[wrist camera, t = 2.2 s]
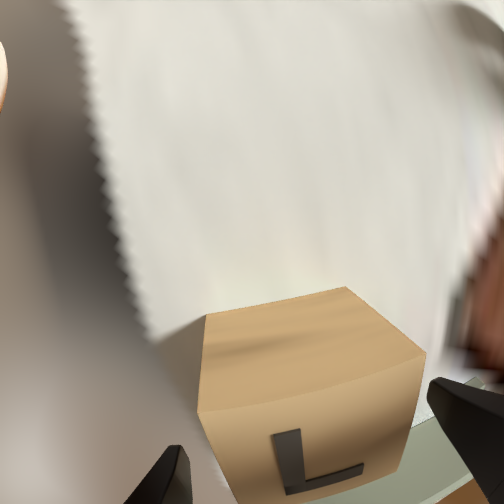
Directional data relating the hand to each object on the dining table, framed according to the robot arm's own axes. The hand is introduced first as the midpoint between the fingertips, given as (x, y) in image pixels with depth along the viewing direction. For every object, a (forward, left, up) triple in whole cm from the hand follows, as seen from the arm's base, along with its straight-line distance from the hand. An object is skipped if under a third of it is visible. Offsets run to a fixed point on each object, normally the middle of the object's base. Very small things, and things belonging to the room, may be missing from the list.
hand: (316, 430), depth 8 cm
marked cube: (0, 0, -5) cm, 5 cm away
